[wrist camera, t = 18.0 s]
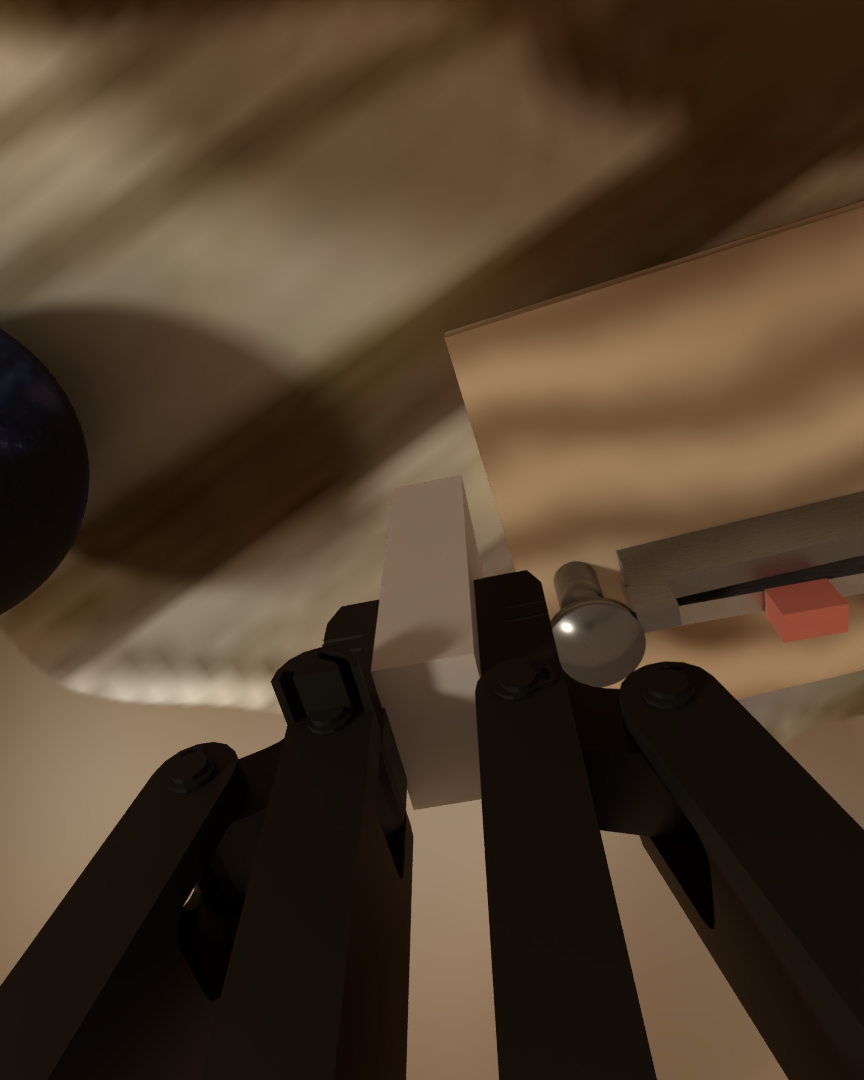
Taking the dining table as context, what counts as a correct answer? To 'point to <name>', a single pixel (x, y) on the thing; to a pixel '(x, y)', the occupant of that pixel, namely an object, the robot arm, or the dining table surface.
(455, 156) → the dining table surface
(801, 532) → the grey lever with knob
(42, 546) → the decorative sphere
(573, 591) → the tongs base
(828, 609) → the tab
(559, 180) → the dining table surface
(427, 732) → the robot arm
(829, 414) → the board
